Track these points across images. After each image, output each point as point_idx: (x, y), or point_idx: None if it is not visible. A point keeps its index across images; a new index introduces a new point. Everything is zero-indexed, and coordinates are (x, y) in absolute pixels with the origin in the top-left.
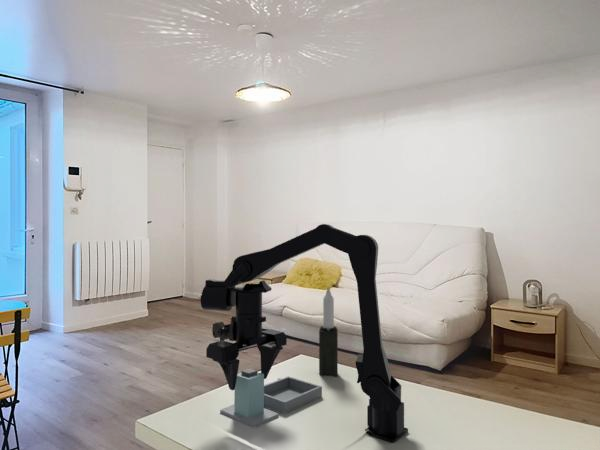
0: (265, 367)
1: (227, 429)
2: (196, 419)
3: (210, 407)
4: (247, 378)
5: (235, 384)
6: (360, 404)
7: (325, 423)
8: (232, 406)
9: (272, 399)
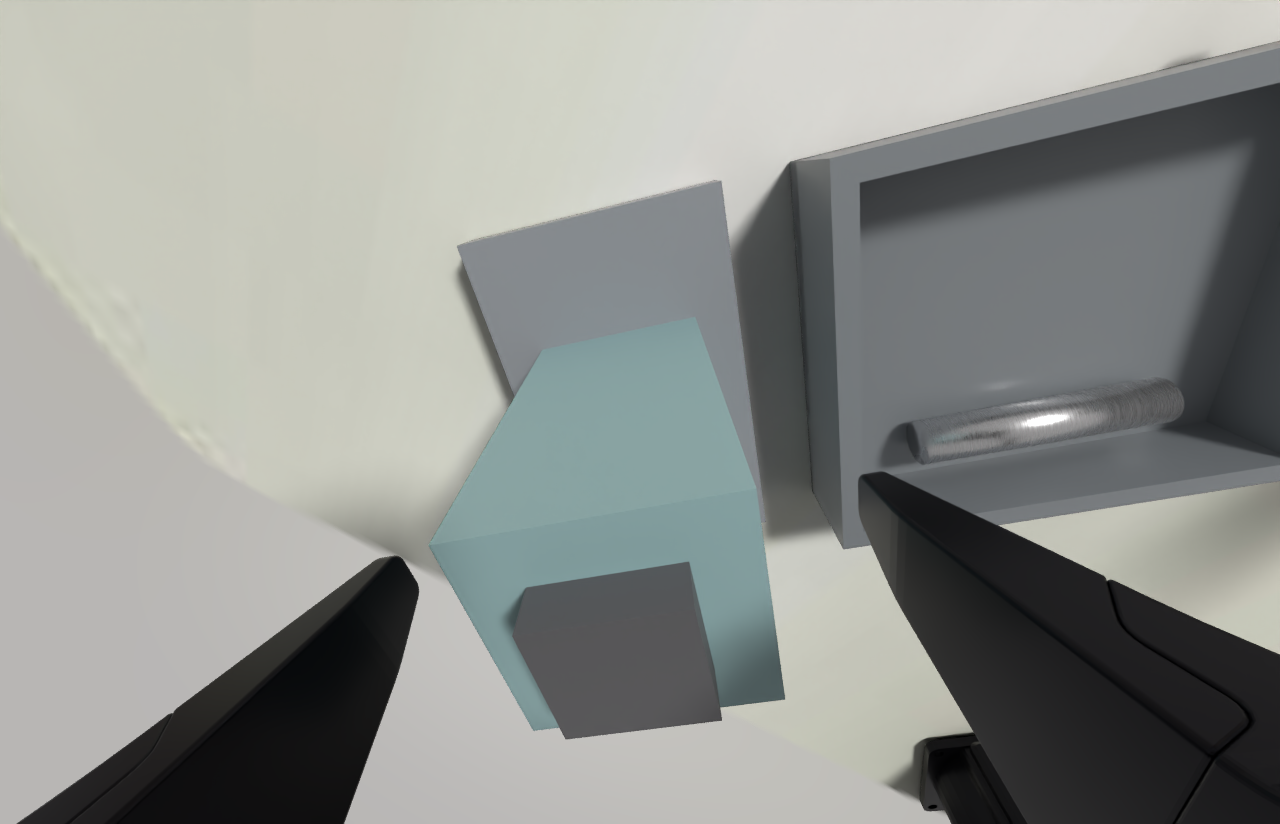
0: (946, 644)
1: (456, 448)
2: (284, 197)
3: (437, 5)
4: (536, 710)
5: (396, 663)
6: (1225, 588)
7: (895, 633)
8: (569, 246)
9: (834, 441)
